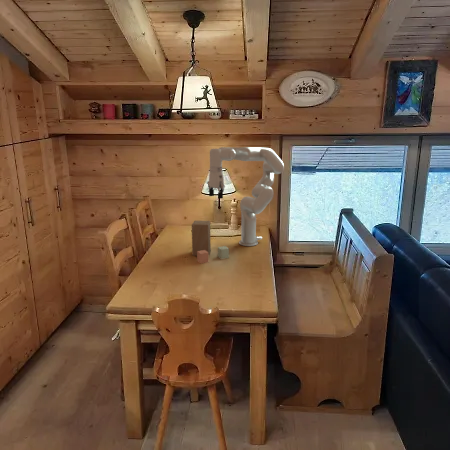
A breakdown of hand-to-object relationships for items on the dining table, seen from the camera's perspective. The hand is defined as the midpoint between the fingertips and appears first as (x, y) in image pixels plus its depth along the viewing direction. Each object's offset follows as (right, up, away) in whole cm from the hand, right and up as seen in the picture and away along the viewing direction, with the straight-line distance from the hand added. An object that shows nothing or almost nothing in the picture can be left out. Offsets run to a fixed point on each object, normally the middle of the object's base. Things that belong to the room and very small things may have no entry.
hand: (215, 197), depth 257 cm
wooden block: (-9, -35, +2) cm, 36 cm away
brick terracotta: (-7, -39, -11) cm, 41 cm away
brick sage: (+5, -37, -4) cm, 37 cm away
